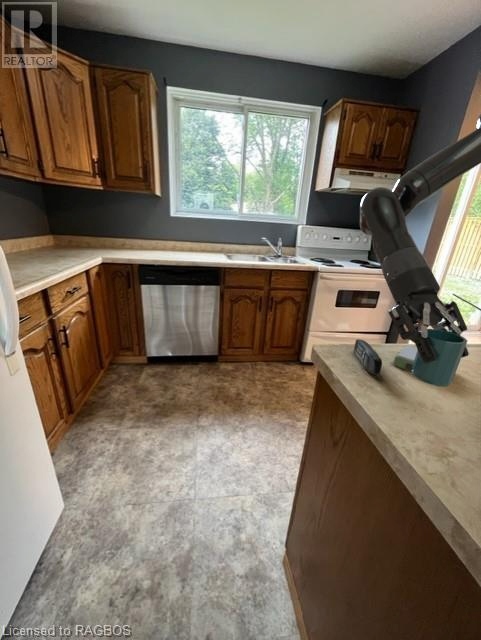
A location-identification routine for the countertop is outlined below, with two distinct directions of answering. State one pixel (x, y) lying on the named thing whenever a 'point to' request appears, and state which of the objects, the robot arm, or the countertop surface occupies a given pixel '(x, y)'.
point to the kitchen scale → (406, 358)
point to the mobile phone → (368, 357)
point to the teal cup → (440, 358)
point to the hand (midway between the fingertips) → (447, 358)
